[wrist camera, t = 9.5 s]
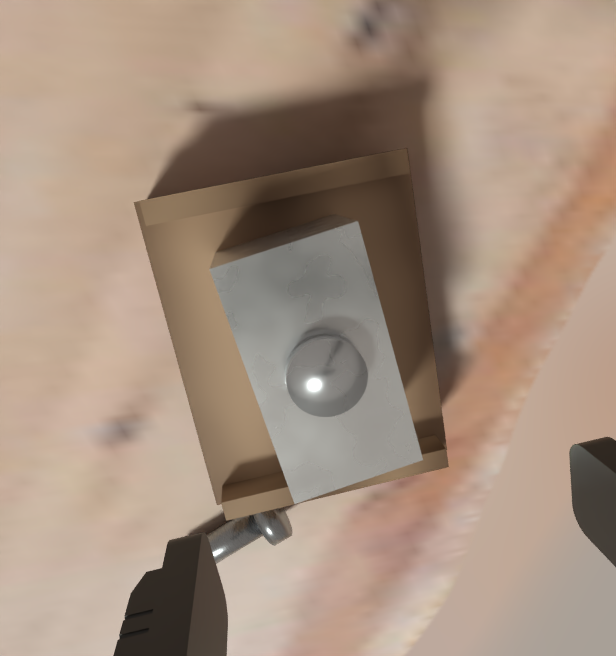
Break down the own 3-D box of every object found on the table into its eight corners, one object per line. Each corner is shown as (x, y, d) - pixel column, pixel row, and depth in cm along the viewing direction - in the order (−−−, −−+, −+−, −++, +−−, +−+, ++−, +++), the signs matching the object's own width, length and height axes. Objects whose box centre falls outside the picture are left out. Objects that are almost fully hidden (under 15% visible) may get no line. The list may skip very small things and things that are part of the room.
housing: (333, 213, 24) (363, 222, 18) (389, 410, 26) (429, 469, 21) (215, 252, 23) (207, 272, 18) (284, 445, 26) (296, 515, 21)
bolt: (266, 483, 30) (268, 510, 27) (289, 516, 31) (294, 545, 28) (175, 537, 30) (170, 569, 28) (201, 569, 31) (198, 603, 28)
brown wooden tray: (388, 152, 26) (418, 145, 22) (427, 424, 30) (458, 464, 26) (145, 200, 25) (126, 203, 21) (219, 474, 29) (215, 523, 25)
